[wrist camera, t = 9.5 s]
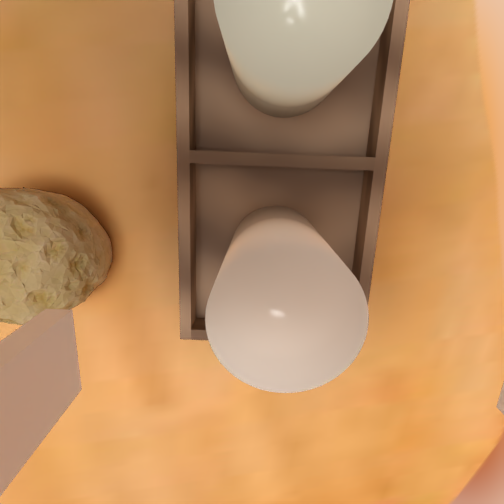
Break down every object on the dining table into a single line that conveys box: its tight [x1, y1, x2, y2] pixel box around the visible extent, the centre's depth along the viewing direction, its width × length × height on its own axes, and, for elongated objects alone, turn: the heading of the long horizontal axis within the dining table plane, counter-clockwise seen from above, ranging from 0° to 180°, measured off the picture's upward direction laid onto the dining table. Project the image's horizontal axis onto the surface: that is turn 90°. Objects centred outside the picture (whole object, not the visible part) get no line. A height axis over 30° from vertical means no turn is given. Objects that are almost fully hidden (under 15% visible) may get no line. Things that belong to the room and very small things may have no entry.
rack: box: [174, 0, 410, 340], centre depth 23 cm, size 26×13×3 cm, turn 178°
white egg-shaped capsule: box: [214, 0, 393, 118], centre depth 17 cm, size 7×7×9 cm
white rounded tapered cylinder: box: [205, 206, 369, 393], centre depth 19 cm, size 6×6×12 cm
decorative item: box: [0, 187, 112, 325], centre depth 23 cm, size 10×10×10 cm
